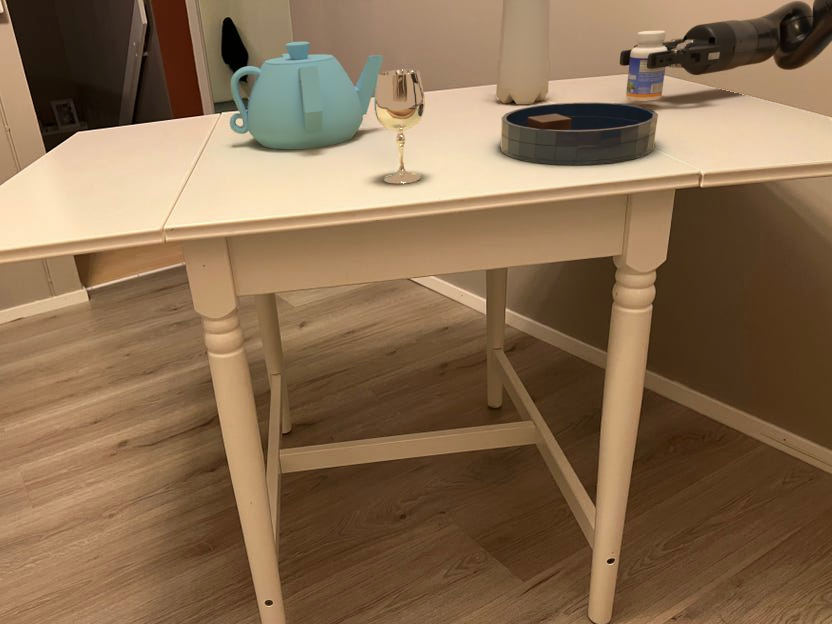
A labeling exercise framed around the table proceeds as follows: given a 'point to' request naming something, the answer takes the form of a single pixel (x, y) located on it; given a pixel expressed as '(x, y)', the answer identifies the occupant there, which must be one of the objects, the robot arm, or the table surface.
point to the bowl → (580, 134)
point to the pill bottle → (645, 68)
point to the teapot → (303, 100)
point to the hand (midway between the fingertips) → (635, 59)
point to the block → (549, 122)
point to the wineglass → (399, 110)
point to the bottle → (524, 52)
